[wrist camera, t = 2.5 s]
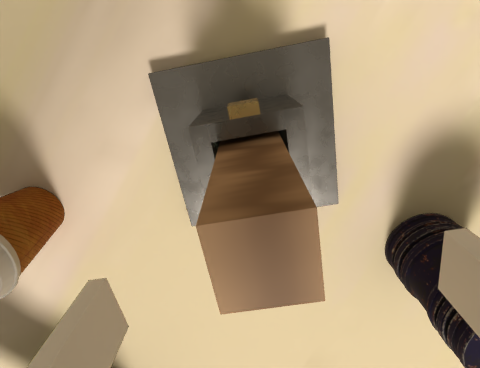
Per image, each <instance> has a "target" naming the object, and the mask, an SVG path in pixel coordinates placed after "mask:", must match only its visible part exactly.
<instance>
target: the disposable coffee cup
mask: <svg viewBox="0 0 480 368" xmlns="http://www.w3.org/2000/svg"><path fill="white" fill-rule="evenodd" d="M63 220H64V209H63V206H62V204H61V202H60V201H59V200H58V199H57V198H56V197H55V196H54V195H53V194H52V193H50V192H48V191H47V190H45V189H41V188H38V187H27V188H23V189H21V190H19V191H16V192H13V193H11V194H8V195H5V196H3V197H0V299H2V298H4V297H6V296H7V295H8V294H10V293H11V292H12V291H13V289H14V288H15V286H16V285H17V283H18V279H19V276H20V275H21V272H23V271H24V269H25V268H26V267H27V266H28V264H30V262H31V261H32V260H33V258H34V257H35V256H36V255H37V254H38V252H39V251H40V250H41V249H42V247H43V246H44V245H45V244H46V242H47V241H48V240H49V238H50V237H51V236H52V235H53V233H54V232H55V231H56V230H57V229H58V227H59V226H60V225H61V224H62V222H63Z"/></svg>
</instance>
